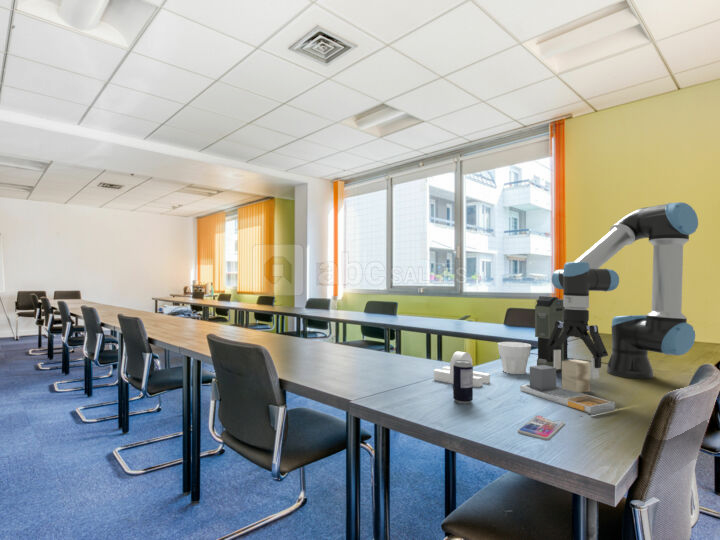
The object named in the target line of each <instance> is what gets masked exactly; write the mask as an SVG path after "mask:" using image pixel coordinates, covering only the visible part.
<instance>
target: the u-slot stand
mask: <svg viewBox="0 0 720 540" xmlns="http://www.w3.org/2000/svg"><path fill="white" fill-rule="evenodd" d="M456 360H467V361H471V362H472V363H471V364H472V365H473V359H472V356H471V354H470V353H469V352H464V351H460V350H459V351H458V350H457V351H455V352H454V353H453V355H452V356H451V359H450V363H449V366H443V367H441V368H435V369H433V380H434V381H439V382H444V383H448V384H452V385H453V365H454V363H455V361H456ZM490 378H491V375H490V373H487V372H481V371H475V370H473V387H476V388H479V387H480V388H481V387H482V386H483V384H490V381H491V379H490Z"/></svg>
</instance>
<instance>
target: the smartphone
mask: <svg viewBox="0 0 720 540" xmlns="http://www.w3.org/2000/svg"><path fill="white" fill-rule="evenodd" d="M565 424H566V423H565V422H564V421H563V420H560V419H559V420H558V419H557V420H554V421H552V420H550V419H547V418H545V417H543V415H542V416H541V415H535V416H534V417H532V418H531V419H530V420H528V422H525V424H523V425H522V426H521V427H519V428H517V433H518V434H520V435H524V436H528V437H532V438H536V439H538V440H539V439H540V440H541V441H542V440H544V441H549V440H551V439H552V438H553V437H554V436H555V435H556V433H558V432H559V431H560V430H561V429H562V428H563V427H564V426H565Z"/></svg>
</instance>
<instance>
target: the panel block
mask: <svg viewBox="0 0 720 540" xmlns="http://www.w3.org/2000/svg"><path fill="white" fill-rule="evenodd" d="M561 387H562V388H565V389H569V390H572V391H576V392H580V393H588V392H591V361H587V360H581V359H577V358H576V359H569V360H566V361H562V373H561Z"/></svg>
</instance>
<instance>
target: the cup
mask: <svg viewBox="0 0 720 540" xmlns="http://www.w3.org/2000/svg"><path fill="white" fill-rule="evenodd" d="M497 348H498V354H499V356H500V359H501V366H502V372H503V371H504V372H503V373H505V372H506V373H505V374H508V373H510V374H509V375H515V374H522V375H525V374H526V373H527V367H528V362H529V358H530V356H531V351H532V350H531V349H532V345H531V344H530V343H525V342H520V341H519V342H518V341H502V342H501V341H500V342H498V343H497Z"/></svg>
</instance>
